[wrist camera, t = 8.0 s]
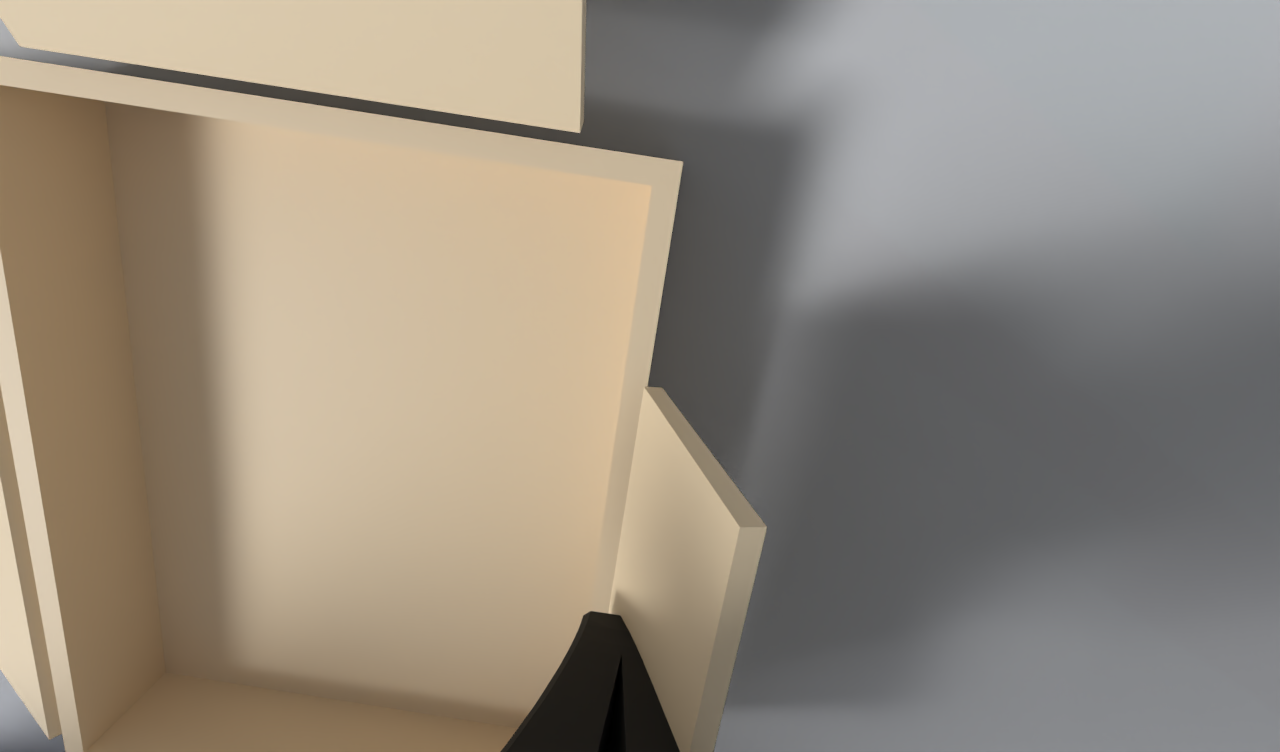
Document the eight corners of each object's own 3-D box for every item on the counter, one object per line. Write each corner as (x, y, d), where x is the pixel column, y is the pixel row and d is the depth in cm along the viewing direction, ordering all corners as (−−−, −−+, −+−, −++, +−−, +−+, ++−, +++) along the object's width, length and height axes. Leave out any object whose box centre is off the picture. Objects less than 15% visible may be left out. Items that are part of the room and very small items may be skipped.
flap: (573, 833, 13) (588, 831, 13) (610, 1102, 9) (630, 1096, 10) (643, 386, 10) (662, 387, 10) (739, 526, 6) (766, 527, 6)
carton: (576, 849, 17) (559, 962, 15) (35, 763, 17) (-72, 861, 15) (686, 164, 12) (690, 162, 9) (-109, 41, 12) (-314, 7, 9)
